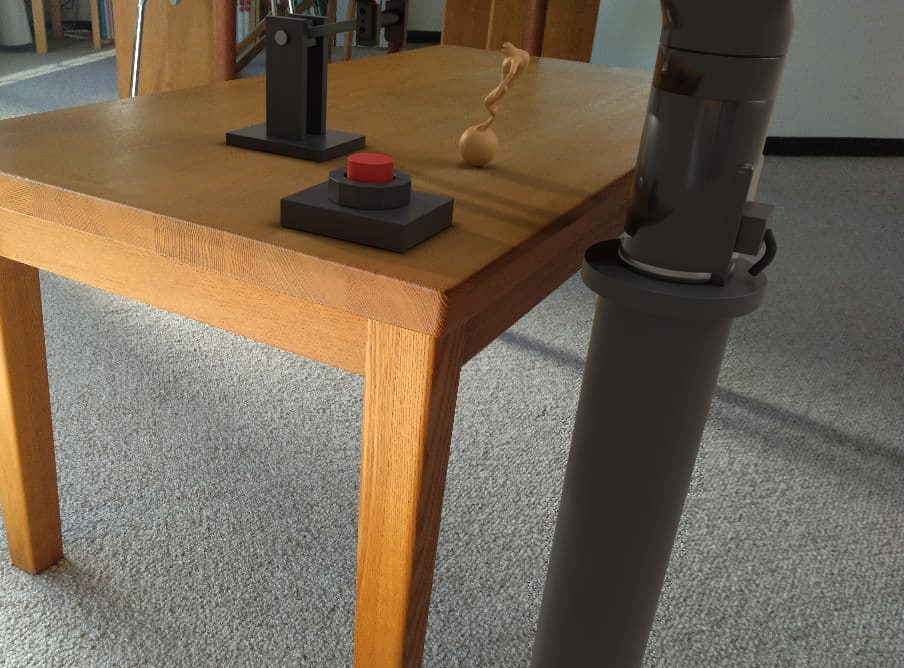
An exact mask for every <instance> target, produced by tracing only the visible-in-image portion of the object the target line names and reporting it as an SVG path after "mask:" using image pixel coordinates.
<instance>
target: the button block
mask: <svg viewBox="0 0 904 668" xmlns="http://www.w3.org/2000/svg"><path fill="white" fill-rule="evenodd" d="M279 207H280V208H279V218H280V219H279V224H280V226H282V227H286V228H290V229H295V230H300V231H304V232H308V233H313V234H317V235H321V236H324V237H325V236H326V237H331V238H335V239H338V240H343V241H348V242H351V243H357V244H360V245H365V246H371V247H374V248H379V249H383V250H386V251H387V250H388V251H392V252H396V253H401V254H403V253H405V252H406V251H408V250H410V249H411V248H414V247H415V246H417V245H418V244H420V243H423V242H424V241H426V240H427V239H429V238H431V237H432V236H434V235H436V234H438V233H439V232H441V231H443V230H444V229H446V228H448V227H450V226H451V225H453V217H454V208H455V198H454V197H450V196H444V195H439V194H433V193H428V192H424V191H419V190H412V176H411V174H410V173H409V174H408V173H406V172H404V171H402V170H399V169H395V168H393V181H391V182H383V183H366V182H358V181H353V180H349V179H347V166H340V167H338V168H337V167H336V168H335V169H332V170H329V171H328V179H327V180H325V181H323V182H320V183H317V184H314V185H312V186H310V187H307V188H305V189H302V190H300V191H296V192H294V193H291V194H289V195H285V196H284V197H281V198H280V199H279Z"/></svg>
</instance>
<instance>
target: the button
mask: <svg viewBox="0 0 904 668" xmlns="http://www.w3.org/2000/svg"><path fill="white" fill-rule="evenodd" d="M394 162H395V160H394V158H393V157H392V156H389V155H387V154H381V153H374V152H373V153H372V152H359V153H353V154H351V155H348V157H347V166H346V167H347V179H349V180H353V181H358V182H366V183H383V182H391V181H393V169H394V164H395V163H394Z"/></svg>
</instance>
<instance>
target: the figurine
mask: <svg viewBox="0 0 904 668" xmlns="http://www.w3.org/2000/svg"><path fill="white" fill-rule="evenodd" d="M502 47H503V48H502V49H501V50H500V51H501V53H502V54H503V56H504V58H503V60H502V65H501V80H500V81H499V82H498V83H497V84H498V86H496V87H495V88H494V89H493V90H492V91H491V92H490V93H488V94H487V96H486V97H485V99H484V107H485V109H486V110H487V111H488V113H489V114H490V117H489V118H488V119H487V120H486V121H485V122H480V123H479V124H478V125H474V126H471V127H469V128H467V129H466V130H465V131H464V132H463V133H462V134H461V136H460V138H459V140H458V141H459V142H458V152H459V155H460V157H461V159H462V160H463V161H464V162H465V163H467V164H468V165H470V166H473V167H482V166H485V165H488V164H489V163H490V162H492V160H494V158H495V157H496V155H497V153H498V150H499V141H498V137H497V135H496V133H495V132H494V131H493V130H492V129H491V128H490V126H492V124H493V123H494V122H495V121H496V120H497V117H498V112H499V106H498V105H496V103H497V102H498V101H500V100H502V99H503V98H504V97H505V95H506V94H507V93H508V92H509V91H510V90H511V89H512V88H513V87H514V86H515V84H516V83H517V80H519V78H520V77H521V76H522V75H523V74H524V72H525V71H526V70H527V68H528V66H529V64H530V61H531V57H530V54H529V52H528V51H526V50H523V49H520V48H518V47H516V46H514V45H513V44H512V43H511V42H509V41H506V42H504V44H503V45H502Z"/></svg>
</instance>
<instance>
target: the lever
mask: <svg viewBox="0 0 904 668" xmlns="http://www.w3.org/2000/svg"><path fill="white" fill-rule="evenodd" d="M400 22H401V14H400V12H399V11H398V10H397V9H389V10H385V9H381V17H380V29H384V28H386V27H393V26H397V25H399V23H400ZM353 31H356V18H350V19H346V20H341V21H336V22H331V23H330V22H329V24H325V25H320V26H315V27H313V22H312V20H308V36H307V47H310V46H315V45H316V40H315V38H317V37H322V36H327V35H328V36H331V35H336V34H337V35H338V34H342V33H348V32H353Z"/></svg>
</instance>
